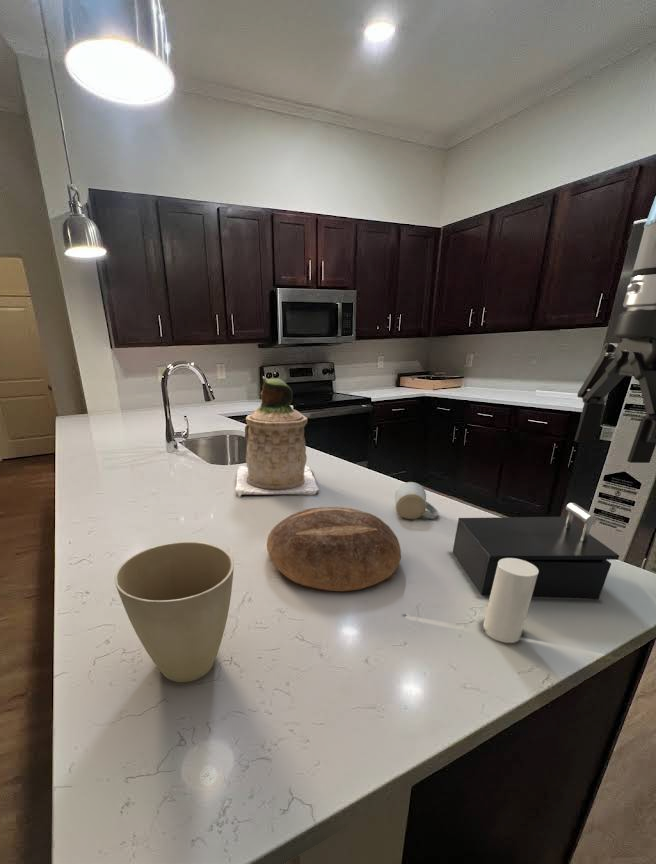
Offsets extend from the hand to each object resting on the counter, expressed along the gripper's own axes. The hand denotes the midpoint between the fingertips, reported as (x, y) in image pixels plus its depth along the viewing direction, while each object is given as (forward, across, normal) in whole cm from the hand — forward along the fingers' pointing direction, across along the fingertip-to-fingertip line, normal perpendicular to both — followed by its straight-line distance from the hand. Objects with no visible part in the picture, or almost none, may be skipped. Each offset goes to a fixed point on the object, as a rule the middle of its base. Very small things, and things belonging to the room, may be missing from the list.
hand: (608, 450), depth 70 cm
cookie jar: (+25, -51, -59) cm, 82 cm away
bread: (+25, -4, -44) cm, 51 cm away
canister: (+25, +17, -20) cm, 36 cm away
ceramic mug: (+25, -28, -22) cm, 44 cm away
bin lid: (+17, 0, -9) cm, 19 cm away
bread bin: (+25, 0, -10) cm, 26 cm away
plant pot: (+25, +27, -67) cm, 76 cm away
